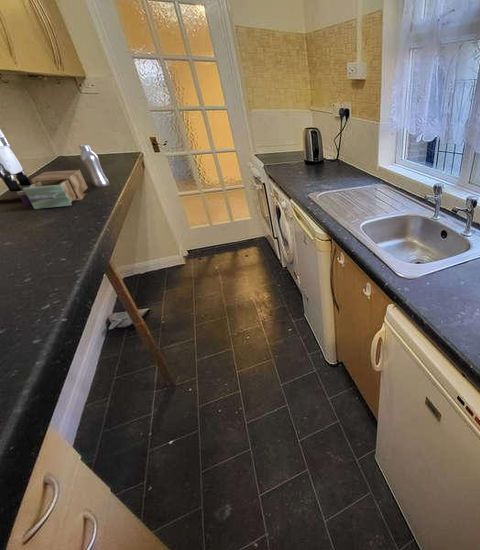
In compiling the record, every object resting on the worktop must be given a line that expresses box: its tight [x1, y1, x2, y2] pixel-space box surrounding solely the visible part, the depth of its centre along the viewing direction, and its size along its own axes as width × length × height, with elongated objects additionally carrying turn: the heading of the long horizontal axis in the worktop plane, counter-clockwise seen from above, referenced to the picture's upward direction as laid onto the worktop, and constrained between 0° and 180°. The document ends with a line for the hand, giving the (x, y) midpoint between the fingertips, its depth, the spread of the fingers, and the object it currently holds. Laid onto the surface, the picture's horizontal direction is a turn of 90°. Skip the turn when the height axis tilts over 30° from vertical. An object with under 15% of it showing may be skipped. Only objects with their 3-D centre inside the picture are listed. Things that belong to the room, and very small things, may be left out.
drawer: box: [22, 179, 77, 210], centre depth 121 cm, size 18×11×8 cm, turn 27°
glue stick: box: [16, 190, 33, 207], centre depth 123 cm, size 3×3×6 cm
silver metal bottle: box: [78, 144, 110, 188], centre depth 142 cm, size 6×7×20 cm
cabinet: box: [30, 169, 89, 201], centre depth 132 cm, size 15×13×10 cm
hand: (21, 188), depth 121 cm, fingers open, 9 cm apart
